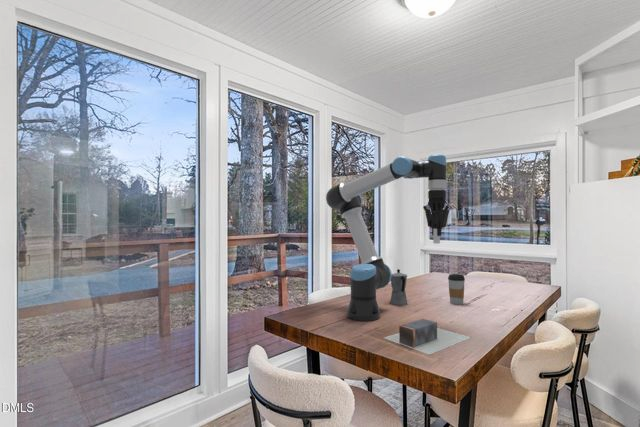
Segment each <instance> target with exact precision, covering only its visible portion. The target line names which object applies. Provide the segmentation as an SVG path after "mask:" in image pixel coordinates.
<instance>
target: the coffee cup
mask: <svg viewBox="0 0 640 427" xmlns="http://www.w3.org/2000/svg"><path fill="white" fill-rule="evenodd" d="M447 277H448V278H447V279H448V294H449V302H450V304H451V305H454V306H463V304H464V298H465V281H466V279H465V275H463V274H460V273H459V274H458V273H450V274H448V276H447Z"/></svg>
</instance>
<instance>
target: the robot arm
mask: <svg viewBox="0 0 640 427" xmlns="http://www.w3.org/2000/svg"><path fill="white" fill-rule="evenodd" d="M402 178H403V179H411V180H412V179H420V178H428V180H427V182H428V183H427V185H428V186H427V189H428V192H427V193H428V194H427V198H428V202H427V204H426V205H423V207H422V208H423V210H424V214H425V218H426V223H427V227H429V228H431V236H433V240H432V241H433V242H432V243H433V244H435V245H436V244H440V243H441V236H442V229H443V228H446V227H447V223H448V218H449V213H450V210H452V206H451V205H449V204H447V201H446V199H447V191H446V190H447V157H446V156H445V155H444V154H431V155H429V156H428V158H427V160H421V161H419V160H418V161H416V160H413V159H411V158H409V157H406V156H397V157H395V159H394V160H393V161H392V162H391V163H389V164H387V165H385V166H382V167H380V168H378V169H376V170H374V171H370V172H369V173H367V174H364V175H362V176H360V177H357V178H356V179H353V180H350V181H349V182H346V183H344V182H340V183H338V184H337V185H334V186H333V187H331V188H330V189H328V191H327V192H326V194H325V201H326V203H327V205H328V206H329V207H330V208H331V209H332V210H336V211H338V212H339V213H340V216H341V217H342V218H343V219H345V221H346V224H347V228H348V230H349V231H350V234H351V237H352V240H353V242H354V245H355V247H356V250H357V253H358V255H359V257H360V261H361V263H360V264H355V265H353V266H352V267H351V268H350V273H349V274H350V275H349V277H350V299H349V300H350V301H349V304H348V307H347V311H346V317H347V318H349V319H350V320H354V321H358V322H359V321H360V322H363V321H364V322H371V321H375V320H379V319H380V318H381V311H380V308H379V305H378V302H377V301H378V300H377V290H379V289H383V288H385V287H386V286H388V285H389V284H390V283H391V278H392V274H393V273H392V270H391V267H389V265H387V264H386V263H385V262H384V260H383V257H381V256H379V255H378V252H377V250H376V247H375V245H374V243H373V240H372V238H371V235H370V233H369V231H368V228H367V225H366V222H365V221H364V218H363V215H362V210H363V207H362V202H363V200H362V199H363V198H362V195H363V194H365V193H367V192H370V191H372V190H375V189H377V188H379V187H382V186H384V185H387V184H389V183H391V182H394V181H396V180H398V179H402Z"/></svg>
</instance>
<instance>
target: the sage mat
mask: <svg viewBox="0 0 640 427" xmlns="http://www.w3.org/2000/svg"><path fill="white" fill-rule="evenodd" d="M471 338H472V336H471V337H470V336H467V335H463V334H460V333H456V332H453V331H450V330H447V329H442V328H439V327H437V339H435V340H433V341H430V342H427V343H424V344H422V345H419V346H416V347H414V348H413V347H410V346H407V345H405V344H402V343H399V332H397V333H394V334H391V335H388V336H387V335H386V336H385V337H383V339H384V340H388V341H390V342H393V343H396V344H399V345H401V346H404V347H407V348H410V349H412V350H415V351H418V352H421V353H423V354H427V355H432V354H434V353H436V352H440V351H442V350H445V349H446V348H449V347H452V346H454V345H457V344H459V343H461V342H465V341H467V340H468V339H471Z"/></svg>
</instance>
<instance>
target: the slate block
mask: <svg viewBox="0 0 640 427" xmlns="http://www.w3.org/2000/svg"><path fill="white" fill-rule="evenodd" d="M398 327H399V328H398V329H399V332H398V333H399V343H402V344H405V345H407V346H410V347H413V348H414V347H416V346H419V345H422V344H424V343H427V342H430V341H433V340H435V339H437V328H438V322H437V321H433V320H429V319H427V318H426V319H425V318H421V319H417V320H414V321H411V322H407V323H404V324H400V325H399V326H398ZM407 346H406V347H407Z"/></svg>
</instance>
